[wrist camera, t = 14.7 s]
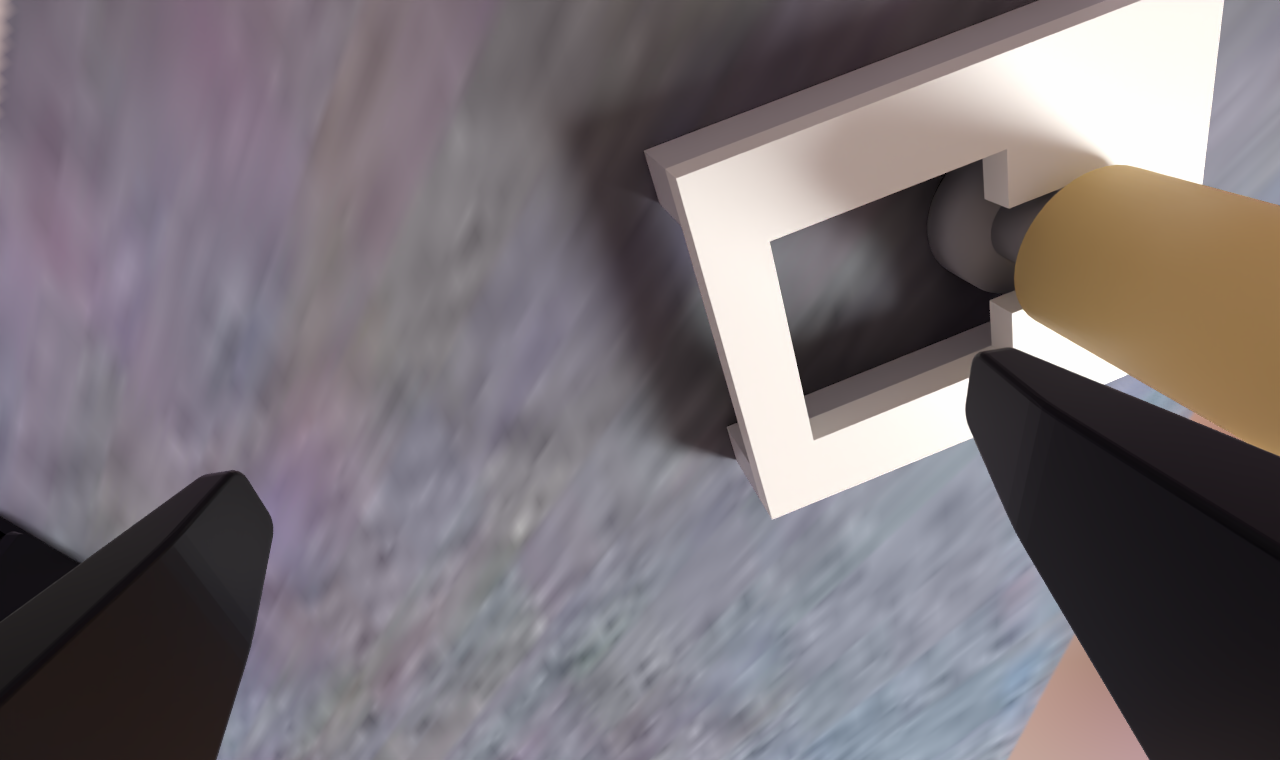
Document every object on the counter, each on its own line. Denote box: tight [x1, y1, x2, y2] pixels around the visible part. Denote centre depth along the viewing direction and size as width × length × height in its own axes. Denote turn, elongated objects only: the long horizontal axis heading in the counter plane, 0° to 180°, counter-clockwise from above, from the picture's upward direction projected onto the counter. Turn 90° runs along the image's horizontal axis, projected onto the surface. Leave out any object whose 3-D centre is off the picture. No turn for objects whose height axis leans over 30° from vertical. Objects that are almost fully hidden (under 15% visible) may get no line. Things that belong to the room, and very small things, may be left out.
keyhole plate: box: [644, 0, 1224, 520], centre depth 21 cm, size 14×11×3 cm
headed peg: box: [927, 159, 1280, 456], centre depth 17 cm, size 4×4×13 cm
